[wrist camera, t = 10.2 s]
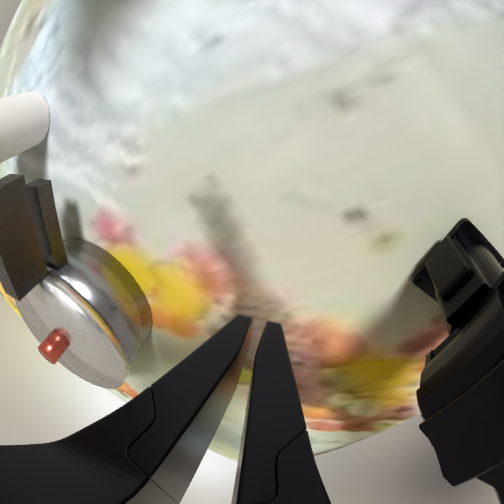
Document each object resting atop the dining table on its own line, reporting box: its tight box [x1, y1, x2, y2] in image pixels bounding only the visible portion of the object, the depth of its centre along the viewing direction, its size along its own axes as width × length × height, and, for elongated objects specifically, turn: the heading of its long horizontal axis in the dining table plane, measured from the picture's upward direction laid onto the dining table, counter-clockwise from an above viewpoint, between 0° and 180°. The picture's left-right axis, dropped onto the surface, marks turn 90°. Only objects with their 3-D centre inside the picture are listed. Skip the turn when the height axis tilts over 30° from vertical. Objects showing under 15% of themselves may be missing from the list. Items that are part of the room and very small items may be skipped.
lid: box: [0, 174, 129, 389], centre depth 21 cm, size 16×25×4 cm, turn 175°
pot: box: [26, 179, 152, 364], centre depth 27 cm, size 15×27×6 cm, turn 174°
